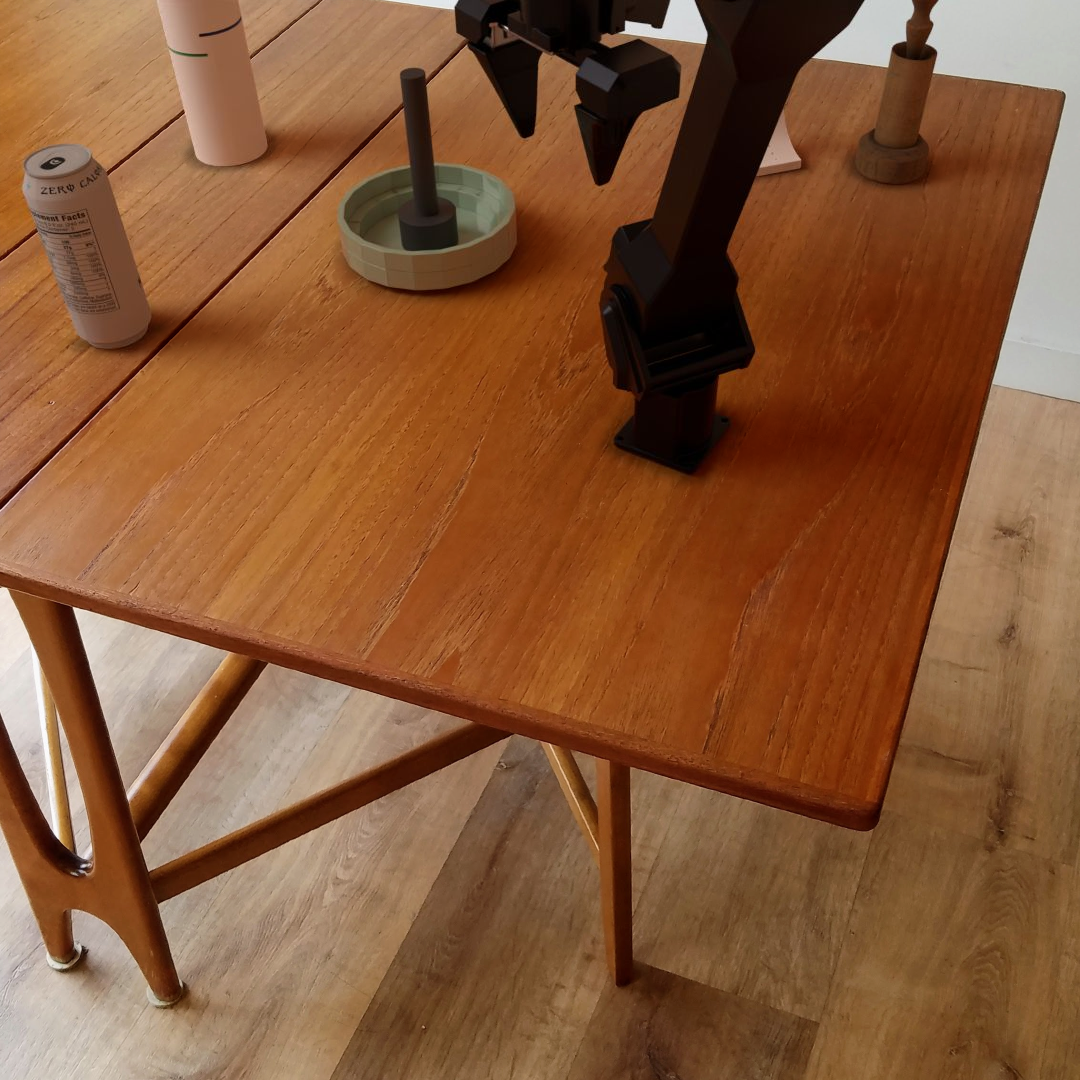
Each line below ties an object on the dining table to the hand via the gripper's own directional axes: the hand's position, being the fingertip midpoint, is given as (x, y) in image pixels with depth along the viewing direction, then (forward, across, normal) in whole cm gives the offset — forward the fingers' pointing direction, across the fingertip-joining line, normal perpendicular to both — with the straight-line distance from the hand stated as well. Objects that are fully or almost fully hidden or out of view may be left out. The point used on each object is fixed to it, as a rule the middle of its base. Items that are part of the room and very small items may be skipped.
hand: (563, 159), depth 85 cm
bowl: (+13, +15, +4) cm, 20 cm away
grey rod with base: (+12, +15, +4) cm, 20 cm away
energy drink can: (+13, +20, +31) cm, 39 cm away
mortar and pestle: (+13, -1, -38) cm, 40 cm away
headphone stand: (+13, +8, -30) cm, 34 cm away
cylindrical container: (+13, +42, +10) cm, 46 cm away
